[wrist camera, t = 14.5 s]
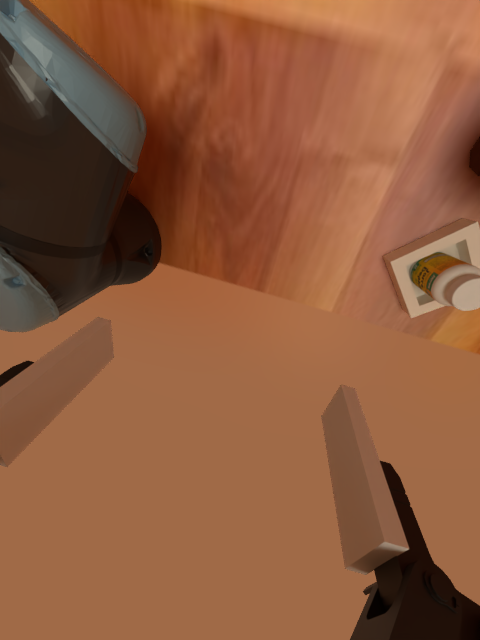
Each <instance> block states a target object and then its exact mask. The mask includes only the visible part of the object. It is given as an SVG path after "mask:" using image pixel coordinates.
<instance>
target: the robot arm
mask: <svg viewBox="0 0 480 640" xmlns="http://www.w3.org/2000/svg"><path fill="white" fill-rule="evenodd" d="M146 132H147V128H146V121H145V117H144V115H143V112H142V110H141V109H140V107H139V106H138V104H137V103H136V102H135V101H134V99H133V98H132V97H131V96H130V95H129V94H128V93H127V92H126V91H125V90H124V89H123V88H122V87H121V86H120V85H119V84H118V83H117V82H116V81H115V80H114V79H113V78H112V77H111V76H110V75H109V74H108V73H107V72H106V71H105V70H104V69H103V68H102V67H101V66H100V65H99V64H97V63H96V62H95V61H94V60H93V59H92V58H91V57H90V56H89V55H88V54H87V53H86V52H85V51H84V50H83V49H81V48H80V47H79V46H78V45H77V44H76V43H75V42H74V41H73V40H72V39H71V38H70V37H69V36H68V35H66V34H65V33H64V32H63V31H62V30H61V29H60V28H59V27H58V26H57V25H56V24H54V23H53V22H52V21H51V20H50V19H49V18H48V17H47V16H46V15H45V14H43V13H42V12H41V11H40V10H39V9H38V8H37V7H36V6H35V5H33V4H32V3H31V2H30V1H29V0H0V330H5V331H9V332H27V331H31V330H34V329H36V328H38V327H40V326H42V325H45V324H47V323H49V322H52V321H55V320H56V319H58V317H59V316H61V315H62V314H64V313H66V312H67V311H69V310H71V309H72V308H74V307H76V306H77V305H79V304H81V303H82V302H84V301H85V300H87V299H89V298H90V297H92V296H94V295H95V294H97V293H99V292H100V291H102V290H104V289H105V288H107V287H109V286H111V285H122V284H130V283H134V282H137V281H140V280H141V279H143V278H145V277H146V276H148V275H149V274H150V273H151V272H152V271H153V270H154V269H155V268H156V266H157V264H158V262H159V259H160V255H161V239H160V234H159V231H158V228H157V226H156V223H155V221H154V219H153V218H152V216H151V214H150V213H149V212H148V210H147V209H146V208H145V207H144V206H143V205H142V204H141V203H140V202H139V201H138V200H137V199H136V198H134V197H133V196H132V195H130V194H128V193H127V191H128V189H129V186H130V183H131V181H132V178H133V176H134V173H137V171H138V166H137V163H138V159H139V156H140V153H141V150H142V147H143V144H144V140H145V137H146ZM113 358H114V354H113V342H112V330H111V320H107V319H103V318H100V317H97V318H96V319H94V320H93V321H91V322H90V323H89V324H87V325H86V326H85V327H83V328H82V329H80V330H79V331H78V332H76V333H75V334H73V335H72V336H71V337H69V338H68V339H66V340H65V341H64V342H62V343H61V344H60V345H58V346H57V347H55V348H54V349H53V350H51V351H50V352H48V353H47V354H46V355H45V356H43V357H41V358H40V359H39V360H37V361H36V362H35V363H34V362H31V361H26V362H23V363H21V364H18V365H16V366H13V367H12V368H10V369H9V370H7V371H6V372H4V373H3V374H1V375H0V465H2V466H6V467H8V465H10V464H11V463H12V461H13V460H14V459H15V458H16V457H17V456H18V455H19V454H20V453H21V452H22V451H23V450H24V449H25V448H26V447H27V446H28V445H29V444H30V443H31V442H32V441H33V440H34V439H35V438H36V437H37V436H38V435H39V434H40V433H41V432H42V431H43V430H44V429H45V428H46V427H47V426H48V425H49V424H50V423H51V421H52V420H53V419H54V418H55V417H56V416H57V415H58V414H59V413H60V412H61V411H62V410H63V409H64V408H65V407H66V406H67V405H68V404H69V403H70V402H71V401H72V400H73V399H74V398H75V397H76V396H77V395H78V394H79V393H80V392H81V391H82V390H83V388H85V387H86V386H87V385H88V384H89V383H90V382H91V381H92V379H93V378H94V377H95V376H96V375H97V374H98V373H99V372H100V371H101V370H102V369H103V368H104V367H105V366H106V365H107V364H108V363H109V362H110V361H111V360H112V359H113ZM322 423H323V429H324V435H325V442H326V448H327V455H328V462H329V468H330V475H331V481H332V487H333V494H334V500H335V506H336V513H337V519H338V526H339V532H340V538H341V544H342V551H343V558H344V564H345V569H348V570H351V571H355V572H358V573H361V574H365V575H366V574H368V573H370V572H371V571H373V570H374V571H375V575H376V579H377V582H376V583H374V584H372V585H370V586H368V587H366V589H365V590H364V591H363V592H364V594H365V595H367V594H369V593H370V595H369V597H368V599H367V602H366V604H365V606H364V609H363V611H362V613H361V615H360V618H359V620H358V622H357V625H356V627H355V629H354V632H353V634H352V636H351V639H350V640H480V606H479V605H478V604H476V603H475V602H473V601H472V600H470V599H469V598H467V597H466V596H464V595H463V594H461V593H460V592H459V591H457V590H456V589H455V587H454V585H453V584H452V582H451V580H450V579H449V578H448V577H447V575H446V574H445V573H444V572H443V571H442V570H441V569H440V568H439V567H438V566H437V565H435V564H434V562H433V560H432V558H431V556H430V554H429V551H428V548H427V546H426V543H425V541H424V538H423V536H422V533H421V530H420V528H419V526H418V523H417V520H416V518H415V515H414V513H413V510H412V508H411V507H410V502H409V500H408V497H407V495H406V494H405V489H404V487H403V484H402V482H401V479H400V477H399V476H398V474H397V473H396V471H395V470H394V468H393V467H392V465H391V464H390V463H386V462H383V461H379V458H378V455H377V452H376V449H375V446H374V443H373V440H372V437H371V434H370V431H369V428H368V426H367V423H366V419H365V416H364V414H363V411H362V408H361V405H360V402H359V399H358V396H357V393H356V390H355V388H351V387H348V386H345V385H341V386H340V387H339V389H338V390H337V392H336V394H335V395H334V397H333V399H332V400H331V402H330V403H329V405H328V407H327V408H326V410H325V411H324V413H323V415H322Z"/></svg>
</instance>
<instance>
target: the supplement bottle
mask: <svg viewBox="0 0 480 640" xmlns="http://www.w3.org/2000/svg"><path fill="white" fill-rule="evenodd" d="M410 279H411V281H412V282H413V283H414V284H415V285H416V286H417V287H419V288H420V289H421V290H423V291H424V292H425V293H426V294H428V295H429V296H430V297H431V298H433V299H434V300H435V301H437V302H438V303H440V304H442V305H446V306H454V307H455V308H457V309H459V310H463V311H470V310H475V309H478V308H480V269H479V268H477V267H476V266H473V265H471V264H469V263H466V262H464V261H462V260H459V259H457V258H455V257H452V256H450V255H448V254H445V253H442V252H436V253H433V254H431V255H429V256H427V257H424V258H422V259H420V260H418V261H415V263H414V264H413V265H412V267H411V269H410Z"/></svg>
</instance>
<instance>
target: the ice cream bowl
mask: <svg viewBox="0 0 480 640" xmlns="http://www.w3.org/2000/svg"><path fill="white" fill-rule="evenodd" d="M470 168H471V169H472V170H473V171H474V172H475V173H476V174H477V175H478V176H480V137H479V139H478V140H477V142H476V143H475V145H474V146H473V148H472V149H471V152H470Z"/></svg>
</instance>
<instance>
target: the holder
mask: <svg viewBox="0 0 480 640" xmlns="http://www.w3.org/2000/svg"><path fill="white" fill-rule="evenodd" d="M436 252H442V253H445V254H448V255H450V256H452V257H455V258H457V259H459V260H462V261H464V262H466V263H469V264H471V265H473V266H476V267H477V268H479V269H480V229H479V224H478V222H477V221H473V220H468V219H463V218H462V219H460V220H457V221H455V222H453V223H451V224H449V225H447V226H445V227H443V228H441V229H439V230H436V231H434V232H432V233H430V234H428V235H426V236H424V237H422V238H420V239H417V240H415V241H413V242H411V243H409V244H407V245H405V246H403V247H401V248H399V249H396V250H394V251H392V252H390V253H388V254H386V255H384V256H383V259H384V261H385V264H386V267H387V269H388V272H389V274H390V277H391V280H392V282H393V285H394V288H395V290H396V293H397V296H398V298H399V301H400V303H401V306H402V309H403V310H404V311H405V312H406V313H407V314H408V315H409V316H410V317H411V318H413V317H416V316H419V315H421V314H424V313H427V312H429V311H432V310H435V309H438V308H440V307H443V306H446V305H442V304H440V303H438V302H437V301H435V300H434V299H433V298H431V297H430V296H429V295H428V294H426V293H425V292H424V291H423V290H421V289H420V288H419V287H417V286H416V285H415V284H414V283H413V282H412V281H411V279H410V269H411V267H412V265H413V264H414V263H415V261H418V260H420V259H422V258H424V257H427V256H429V255H431V254H433V253H436Z"/></svg>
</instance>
